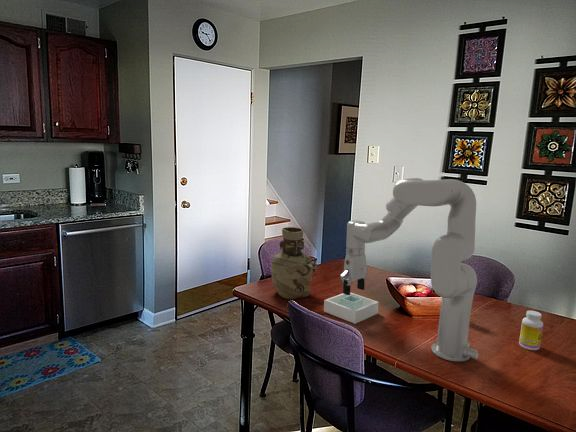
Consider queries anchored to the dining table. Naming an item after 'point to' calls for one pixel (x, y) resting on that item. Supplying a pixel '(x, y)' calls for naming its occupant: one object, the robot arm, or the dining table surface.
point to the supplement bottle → (531, 331)
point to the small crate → (352, 302)
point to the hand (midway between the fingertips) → (353, 291)
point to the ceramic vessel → (292, 266)
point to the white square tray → (349, 314)
